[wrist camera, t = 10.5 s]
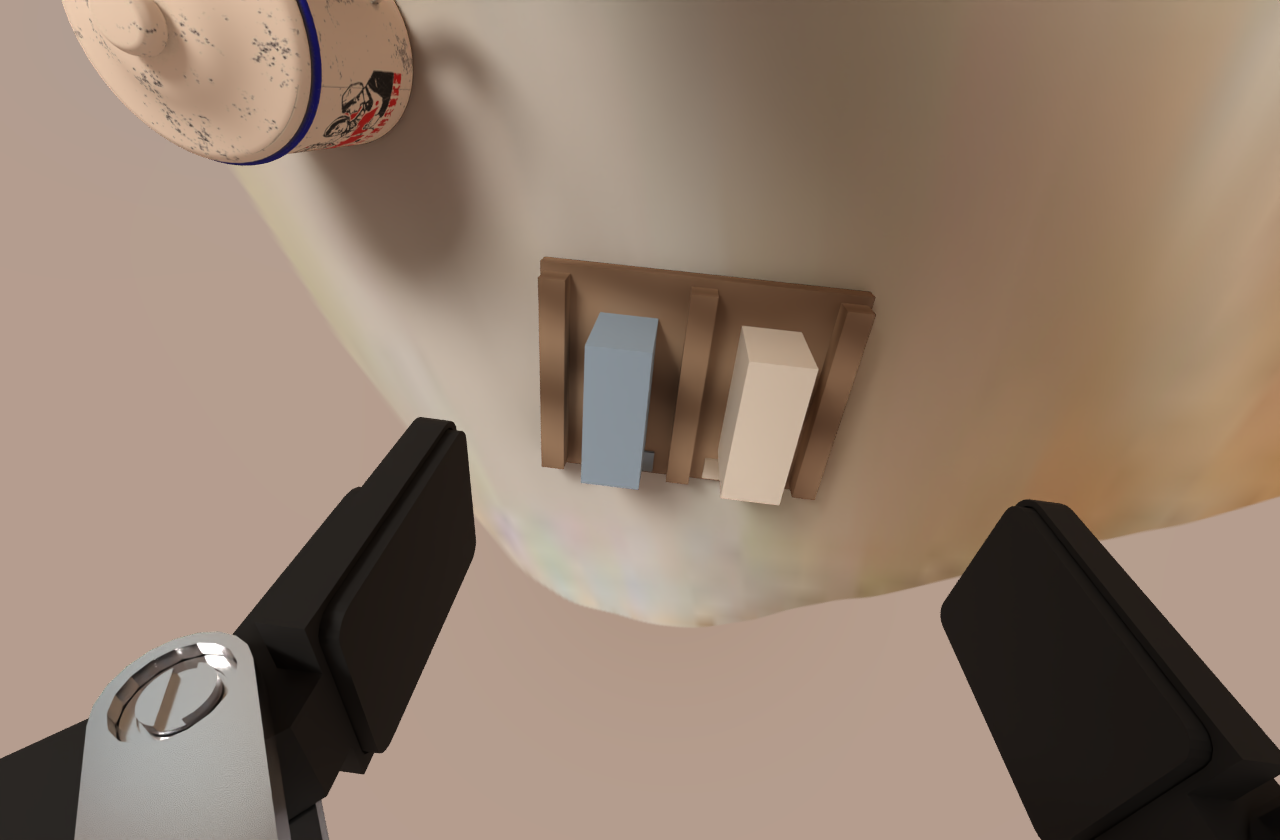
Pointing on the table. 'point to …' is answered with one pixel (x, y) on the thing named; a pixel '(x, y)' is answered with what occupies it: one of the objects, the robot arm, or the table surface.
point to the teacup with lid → (252, 71)
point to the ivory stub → (764, 413)
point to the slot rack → (694, 358)
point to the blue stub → (617, 399)
